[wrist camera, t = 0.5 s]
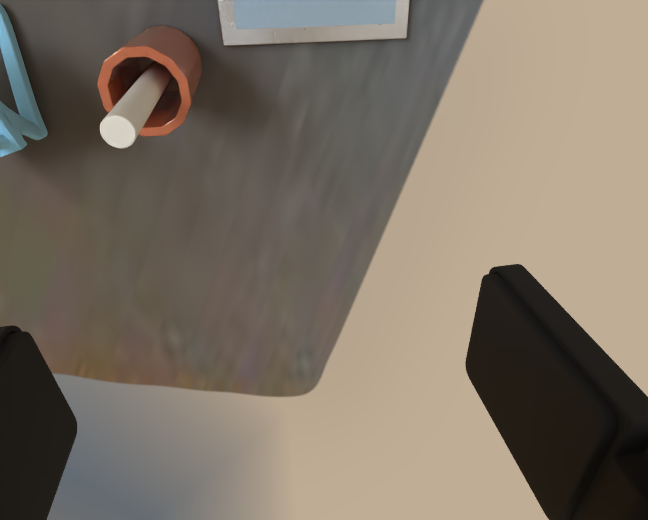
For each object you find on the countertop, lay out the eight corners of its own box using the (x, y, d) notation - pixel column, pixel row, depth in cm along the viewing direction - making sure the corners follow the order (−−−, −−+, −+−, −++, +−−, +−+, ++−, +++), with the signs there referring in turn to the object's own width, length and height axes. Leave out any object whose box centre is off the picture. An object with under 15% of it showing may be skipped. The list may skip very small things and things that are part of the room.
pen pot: (124, 26, 30) (86, 48, 22) (195, 24, 30) (180, 44, 23) (141, 97, 32) (112, 138, 25) (206, 94, 33) (196, 133, 25)
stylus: (154, 52, 30) (95, 116, 18) (175, 52, 30) (130, 114, 18) (158, 74, 31) (105, 149, 19) (179, 73, 31) (139, 147, 19)
